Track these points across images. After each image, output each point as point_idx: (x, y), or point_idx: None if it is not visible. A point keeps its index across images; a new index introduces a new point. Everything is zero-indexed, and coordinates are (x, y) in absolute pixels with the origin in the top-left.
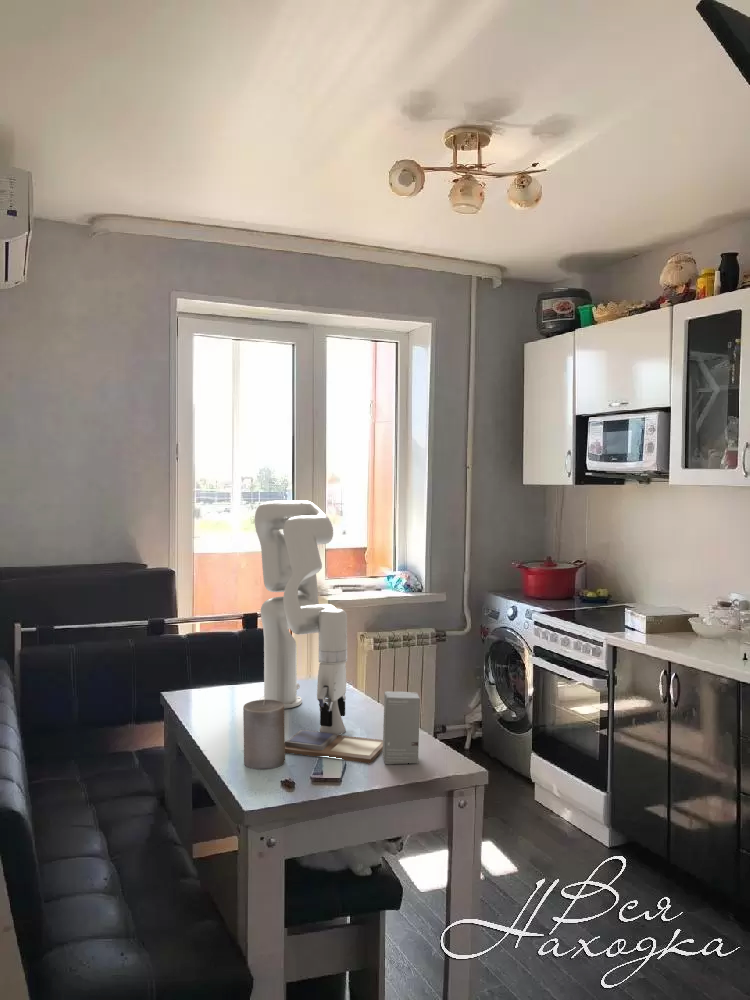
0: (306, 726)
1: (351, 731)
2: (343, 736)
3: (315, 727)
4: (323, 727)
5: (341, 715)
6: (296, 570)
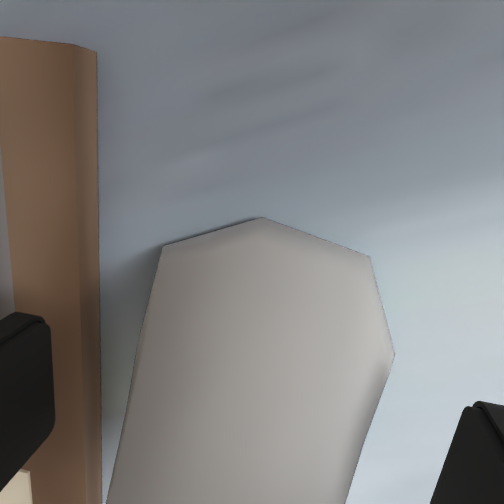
0: (387, 21)
1: None
2: (63, 461)
3: (362, 146)
4: (151, 299)
5: (435, 492)
6: None
